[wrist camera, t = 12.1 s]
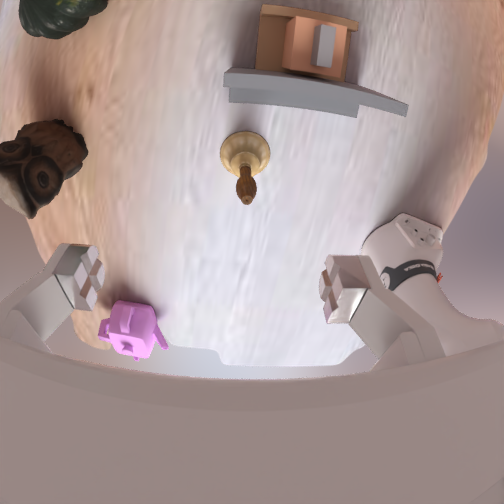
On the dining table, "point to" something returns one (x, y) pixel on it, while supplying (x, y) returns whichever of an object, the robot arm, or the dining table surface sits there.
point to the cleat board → (300, 73)
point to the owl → (39, 164)
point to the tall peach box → (314, 46)
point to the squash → (57, 16)
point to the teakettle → (132, 329)
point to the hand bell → (245, 161)
